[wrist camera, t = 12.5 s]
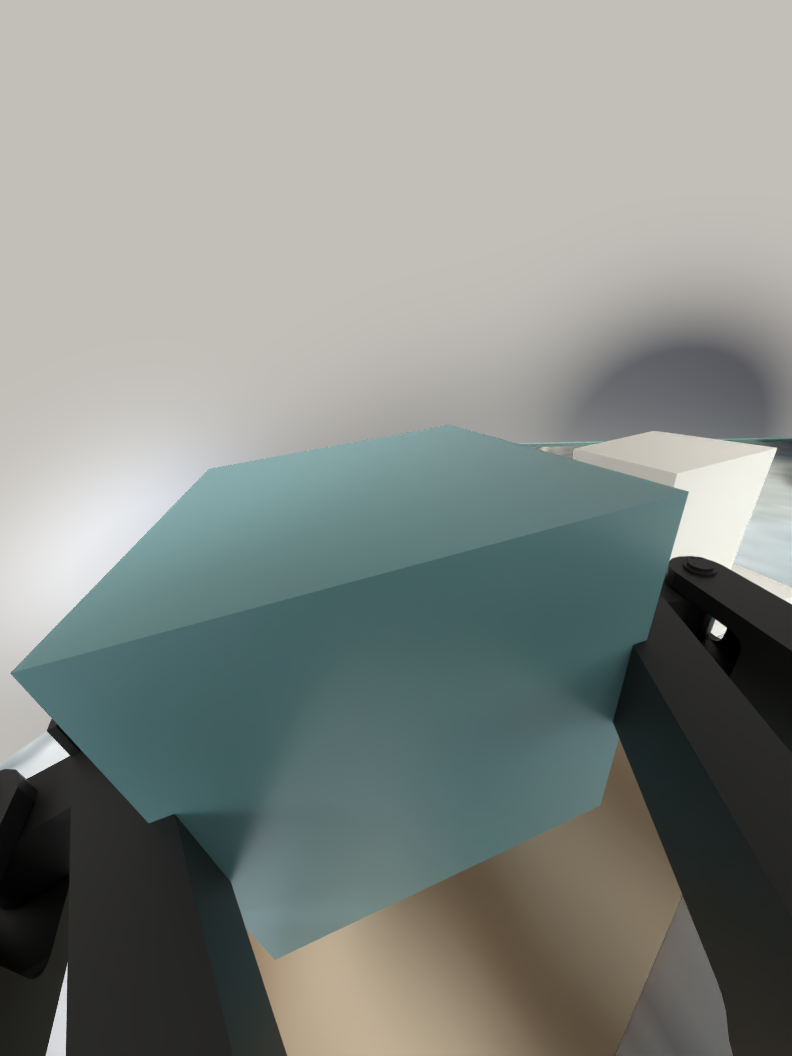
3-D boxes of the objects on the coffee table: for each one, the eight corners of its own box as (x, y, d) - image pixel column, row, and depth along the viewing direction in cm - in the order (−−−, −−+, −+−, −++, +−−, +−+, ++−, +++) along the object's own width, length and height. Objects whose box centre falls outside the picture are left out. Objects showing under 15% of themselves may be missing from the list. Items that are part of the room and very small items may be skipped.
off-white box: (627, 529, 31) (649, 421, 27) (796, 605, 21) (879, 447, 16) (516, 561, 29) (520, 448, 24) (643, 665, 18) (691, 500, 14)
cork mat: (434, 610, 25) (433, 605, 24) (716, 812, 12) (720, 806, 12) (203, 758, 17) (199, 752, 17) (354, 1658, 5) (347, 1684, 5)
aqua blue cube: (459, 610, 17) (449, 424, 13) (599, 805, 9) (688, 491, 5) (284, 664, 15) (208, 468, 11) (274, 960, 8) (9, 673, 3)
